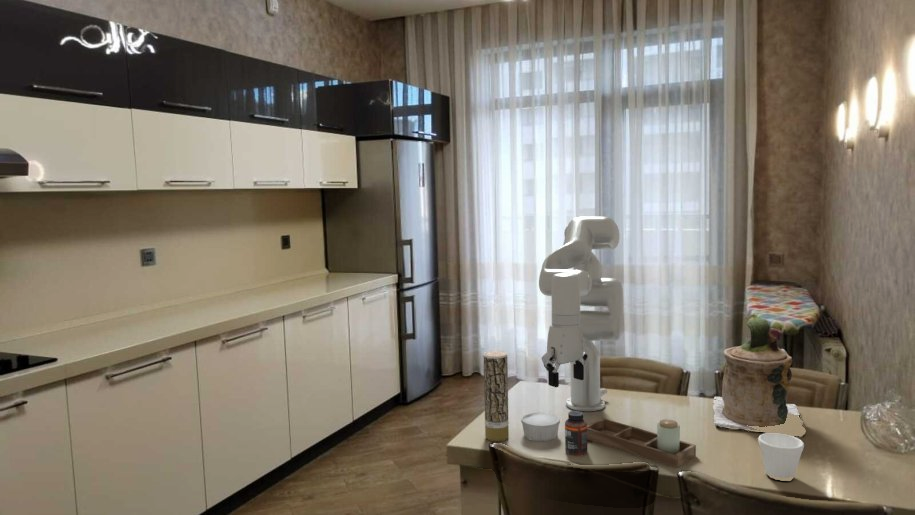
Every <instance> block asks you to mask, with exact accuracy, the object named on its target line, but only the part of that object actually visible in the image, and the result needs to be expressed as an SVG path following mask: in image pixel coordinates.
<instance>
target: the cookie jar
mask: <svg viewBox="0 0 915 515" xmlns="http://www.w3.org/2000/svg"><path fill="white" fill-rule="evenodd" d="M746 325H747V326H748V328H749V329H750V335H751V336H750V337H751V338H750V340H748V341H747V342H744V343H743V344H742V345H739V346H732V347H729V348H726V349H724V351H723V357H724V359H725V364H724V375H723V378H722V382H721V384H722V391H721V396H713V397H714V398H713V402H712V404H713V405H712V410H713V413H714V415H713V422H714V426H715V425H716V426H718V427H720V428H722V427H730V428H740V429H750V430H757V429H754V428H752V427H749V426H759V427H765V426H766V427H767V426H775V425H780V424H784V423H785V421H786V418H787V415H788V413H789V414H790V413H791V414H794V415H800V412H799V409H798V406H797V405H796V404H794V403H787V402H788V393H789V391H790V381H791V380H792V377H793V373H792V370H791V366H792V364H793V357H792V356H790V355H789V354H788V353H787V351H786V349H784V348H780V347H779V346H778V344H777V343H778V342H780V341H781V338H782V334H783V333H782V331H781V330H780V329H779V328H775V327H771V325H770V323H769V321H768V320H767V319H765V318H761V317H759V316H758V315H756V314H754V313H752V314H750V316H749V319H748V321H747V322H746ZM714 399H716V400H714ZM800 416H801V415H800ZM798 417H799V416H798ZM802 420H803V419H802ZM802 420H801V421H802ZM801 423H802V422H801ZM747 425H748V426H747ZM802 425H803V426H804V423H803V424H802ZM740 429H739V430H740ZM759 431H760V430H759Z"/></svg>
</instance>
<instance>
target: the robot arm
mask: <svg viewBox="0 0 915 515" xmlns="http://www.w3.org/2000/svg"><path fill="white" fill-rule="evenodd" d="M563 236H564V240H563V245H562V246H560V247H558V248H557V249H555V250H554V251H553V252H551V253H550V254H548V255H547V256H546V257H545V259H544V260H543V262H542V265H541V270H540V273H539V278H538V288H539V290H540V291H539V292H541V294H542V295H544V296H546V297H551V325H549V328H548V331H547V332H548V334H547V341H546V342H547V343H546V353H545V354H544V355H542V357H541V361H542V364H543V367H544V368H545V370H546V371H547V373H548V382H547V384H548V386H550V387H553V388H559V386H560V382H559V381H560V380H559V376H560V374H559V372H558V370H559V368H560V367H561V366H560V365H566V364H570V366H569V368H570V372H569V373H570V397H568V398H567V399H566V401H565V405H566V407H567V408H569V409H571V410H573V411H580V412H597V411H600V410H603V409H604V408H605V406H606V402H605V401H604V400H603V399H602V396H604V395H607V393H608V390H607V388H601V354H600V351H599V348H598V346H596V344H595V343H594V342H595V341H597V342H599V341H600V342H617V341H620V339H621V338H622V335H623V330H624V328H623V325H624V322H623V320H624V314H623V313H624V291H623V289H624V288H623V285H622V283H621V282H622V281H620V280H619V279H618V278H615V277H601V275H600V274H601V272H600V271H601V270H600V269H601V264H600V263H601V262H600V261H599V259H598V257H597V256H596V254H594V252H593V251H592V250H614V249H616V248H617V247H618V245H619V242H620V230H619V227H618V225H617V223H616V221H615V220H614V218H611V217H610V216H579V217H574V218H572V219H571V220H570V221H569V222H568V225H567V226H566V227H565V228H564V235H563ZM572 268H573V269H572ZM581 307H589V308H590V307H593V308H596V307H597V308H607V309H608V311H606V310H605V311H603V310H585V309H584V310H581Z"/></svg>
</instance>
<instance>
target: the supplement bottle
mask: <svg viewBox="0 0 915 515" xmlns="http://www.w3.org/2000/svg"><path fill="white" fill-rule="evenodd" d="M567 415H568V417H567V419H566V420H565V422H564V442H565V443H564V446H565V449H564V450H565V453H566V455H570V456H574V457H581V456H585V455H587V454H588V441H587V425H588V422H587V421H586V420H585V419H584V413H583V411H578V410H572V411H569V412H568V414H567Z"/></svg>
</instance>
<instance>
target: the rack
mask: <svg viewBox="0 0 915 515" xmlns="http://www.w3.org/2000/svg"><path fill="white" fill-rule="evenodd" d="M587 442H588V443H589V442H590V443H593V442H594V443H598V444H600V445H603V446H607V447H611V448H613V449H615V450H619V451H622V452H626V453H628V454H632V455H634V456H638V457H641V458H643V459H647V460H650V461H652V462H657V463H659V464H663V465H664V466H665V465H666V466H669V467H671V466H672V468H674V467H675V468H674V469H677V468H679V467H680V465H681V466H683V465H684V464H686V463H687V462H689V461H690V460H692V459H694V458H695V457H696V456H697V455H696V454H697V448H696V447H697V445H696V444H694V443H691V442H687V441H684V440H680V452H679V453H677V454H676V455H675V454H671V453H668V452H665V451H662V450H658V449H657V432H651V431H649V430H645V429H641V428H638V427H634V426H631V425H627V424H624V423H622V422H617V421H614V420H611V419H607V418H604V417H603V418H601V419H598V420H596V421H594V422H592V423H590V424H587Z"/></svg>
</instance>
